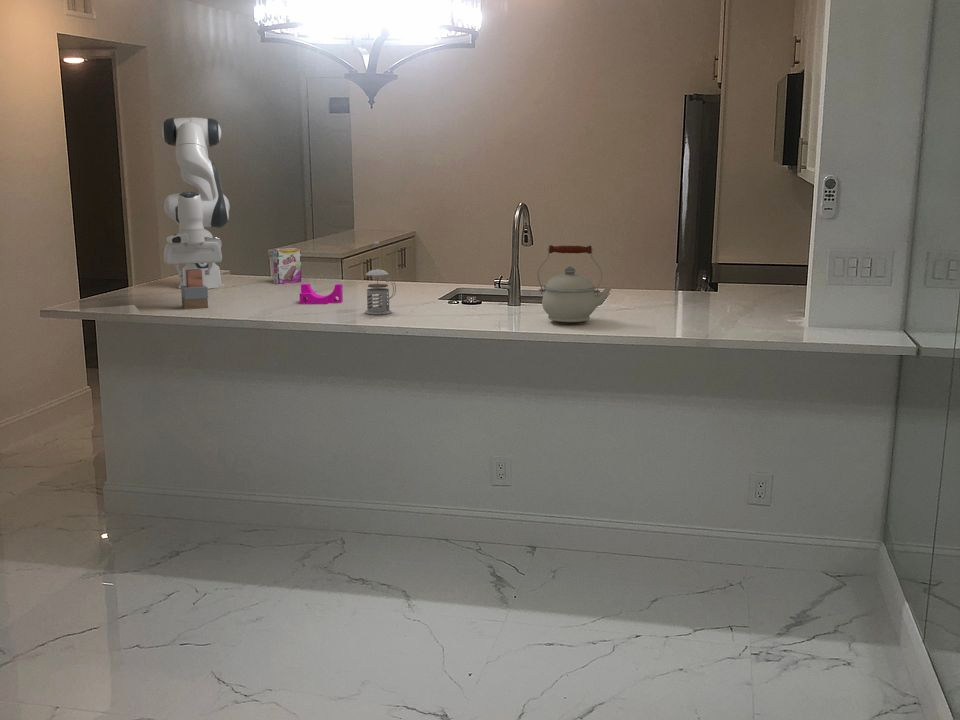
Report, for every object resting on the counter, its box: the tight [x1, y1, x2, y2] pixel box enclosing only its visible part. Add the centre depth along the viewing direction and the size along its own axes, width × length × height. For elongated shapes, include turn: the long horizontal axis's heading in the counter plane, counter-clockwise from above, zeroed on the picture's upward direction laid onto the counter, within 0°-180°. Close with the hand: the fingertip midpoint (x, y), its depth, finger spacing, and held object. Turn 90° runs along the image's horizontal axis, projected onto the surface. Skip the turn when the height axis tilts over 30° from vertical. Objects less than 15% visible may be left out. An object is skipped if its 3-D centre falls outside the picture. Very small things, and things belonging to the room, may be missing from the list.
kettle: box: [536, 244, 612, 323], centre depth 317 cm, size 25×18×25 cm
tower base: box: [181, 296, 209, 310], centre depth 345 cm, size 8×8×4 cm
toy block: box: [299, 283, 344, 305], centre depth 353 cm, size 15×6×8 cm, turn 88°
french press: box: [364, 241, 397, 315], centre depth 331 cm, size 10×12×25 cm
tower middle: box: [180, 285, 209, 299], centre depth 344 cm, size 8×8×4 cm
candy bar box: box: [272, 247, 302, 285], centre depth 401 cm, size 11×5×16 cm, turn 130°
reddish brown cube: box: [186, 269, 203, 288], centre depth 343 cm, size 5×5×6 cm
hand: (194, 275), depth 343 cm, fingers open, 8 cm apart
